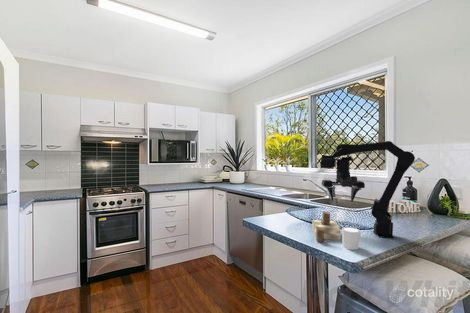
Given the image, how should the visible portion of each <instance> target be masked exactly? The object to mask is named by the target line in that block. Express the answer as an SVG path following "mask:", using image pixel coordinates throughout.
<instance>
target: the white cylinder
mask: <svg viewBox="0 0 470 313" xmlns="http://www.w3.org/2000/svg"><path fill="white" fill-rule="evenodd" d="M361 233H362V231H361V229H359V228H356V227H352V226H351V227H350V226H343V227H341V239H342V247H343V248H344V247H345V248H344V249H346V248H347V250H350V249H351V250H352V251H357V250H359V246H360V240H361V239H360V238H361Z"/></svg>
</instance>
